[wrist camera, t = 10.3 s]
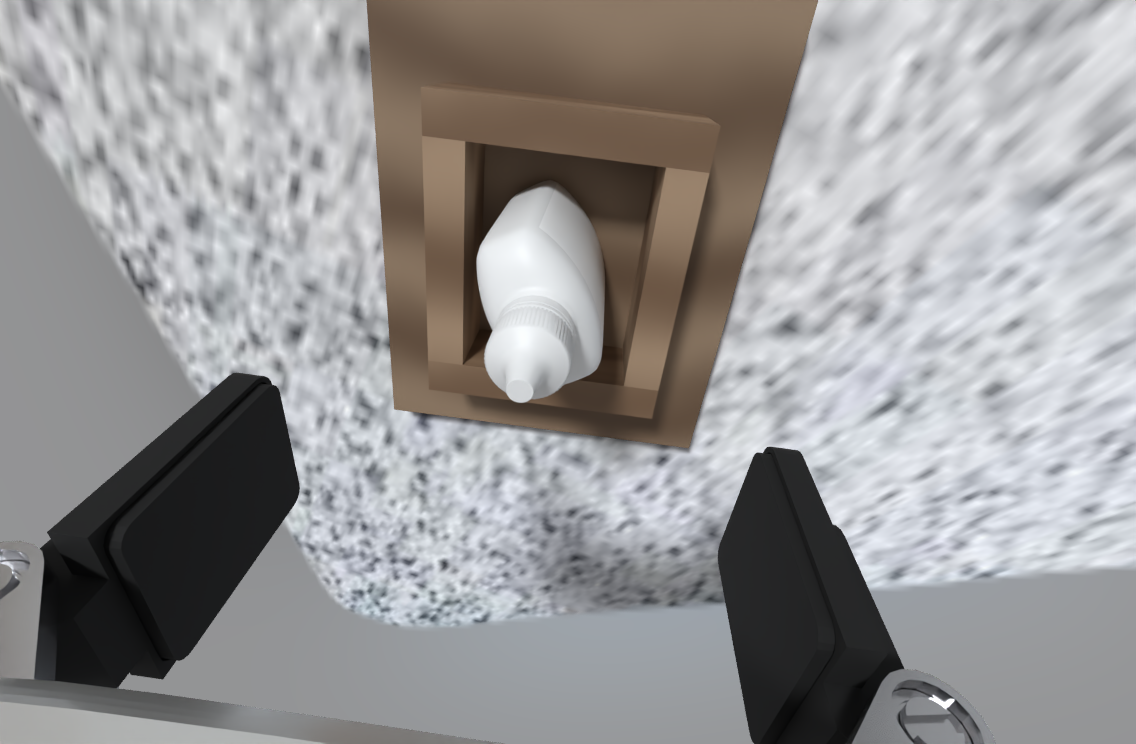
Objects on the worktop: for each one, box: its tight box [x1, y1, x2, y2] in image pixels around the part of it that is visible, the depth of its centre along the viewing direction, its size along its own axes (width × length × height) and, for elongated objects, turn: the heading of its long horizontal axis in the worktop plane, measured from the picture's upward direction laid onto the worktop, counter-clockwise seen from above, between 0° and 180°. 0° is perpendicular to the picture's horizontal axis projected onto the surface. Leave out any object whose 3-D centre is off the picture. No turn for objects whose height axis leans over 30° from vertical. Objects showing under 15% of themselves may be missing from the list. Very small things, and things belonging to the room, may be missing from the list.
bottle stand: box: [367, 0, 818, 448], centre depth 23 cm, size 20×16×5 cm
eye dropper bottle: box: [477, 180, 605, 403], centre depth 19 cm, size 4×6×12 cm
